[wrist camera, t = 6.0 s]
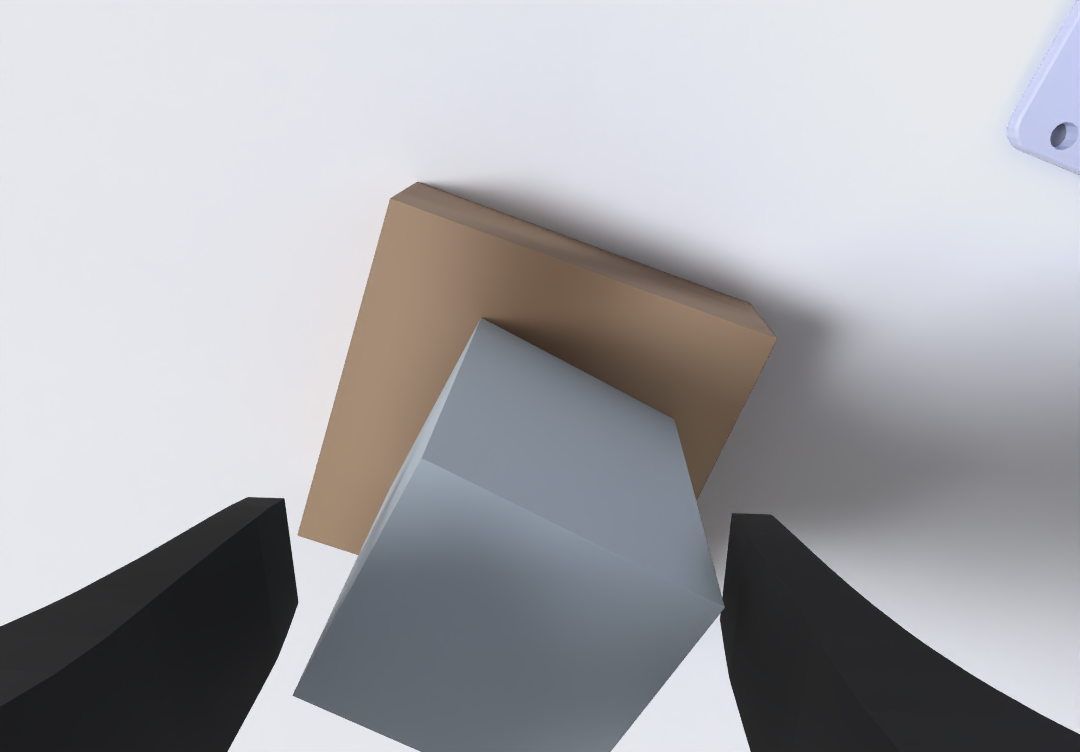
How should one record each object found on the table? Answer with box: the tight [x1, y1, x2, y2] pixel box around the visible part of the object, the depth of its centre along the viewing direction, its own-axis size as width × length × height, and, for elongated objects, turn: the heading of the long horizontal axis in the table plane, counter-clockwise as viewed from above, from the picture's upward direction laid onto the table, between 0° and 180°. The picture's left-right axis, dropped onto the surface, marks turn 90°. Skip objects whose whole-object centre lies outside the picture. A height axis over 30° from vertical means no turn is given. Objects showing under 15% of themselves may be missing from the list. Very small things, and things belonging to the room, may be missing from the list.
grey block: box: [293, 318, 725, 752], centre depth 13 cm, size 4×4×6 cm
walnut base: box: [298, 182, 777, 555], centre depth 17 cm, size 8×8×3 cm
